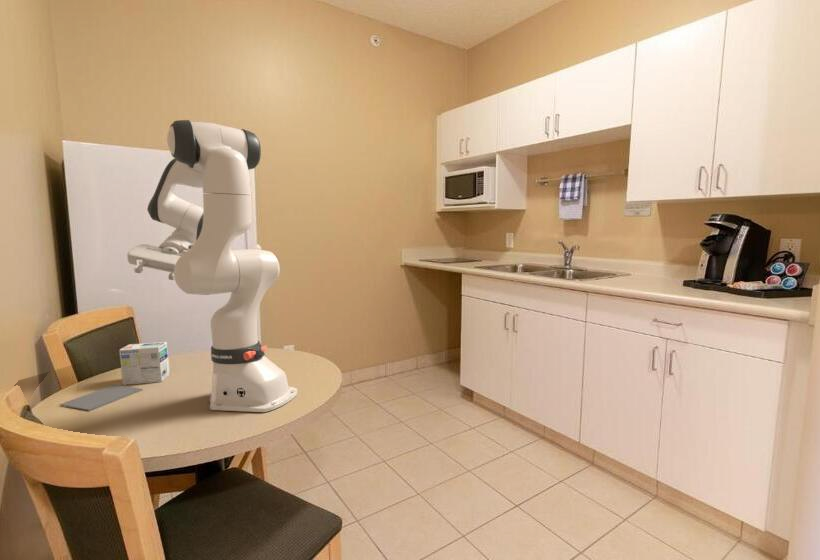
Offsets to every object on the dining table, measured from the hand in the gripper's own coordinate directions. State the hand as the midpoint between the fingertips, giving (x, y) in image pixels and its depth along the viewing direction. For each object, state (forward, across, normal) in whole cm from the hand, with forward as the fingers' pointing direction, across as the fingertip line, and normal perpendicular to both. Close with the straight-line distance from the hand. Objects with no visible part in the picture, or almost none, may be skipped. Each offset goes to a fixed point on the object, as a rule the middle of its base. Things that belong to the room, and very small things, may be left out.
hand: (154, 274), depth 120 cm
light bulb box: (+17, +4, +27) cm, 32 cm away
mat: (+28, -1, +22) cm, 36 cm away
